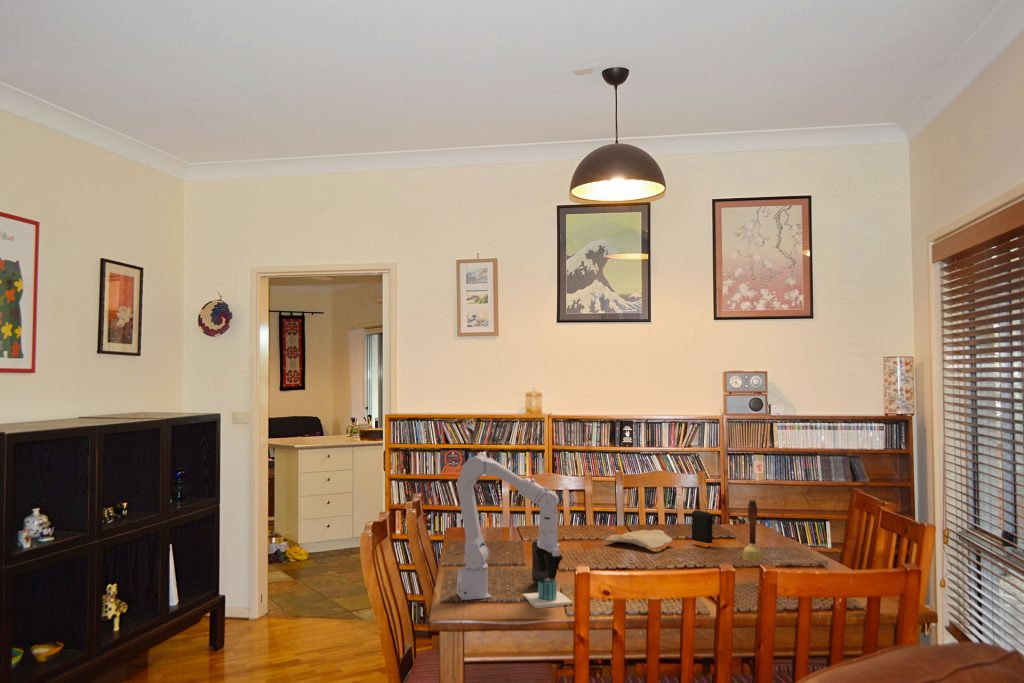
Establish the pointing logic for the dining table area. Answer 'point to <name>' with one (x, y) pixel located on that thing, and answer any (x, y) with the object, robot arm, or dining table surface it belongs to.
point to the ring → (547, 590)
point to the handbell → (752, 535)
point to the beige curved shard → (642, 538)
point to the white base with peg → (539, 603)
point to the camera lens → (537, 566)
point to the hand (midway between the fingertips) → (547, 574)
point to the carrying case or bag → (702, 526)
